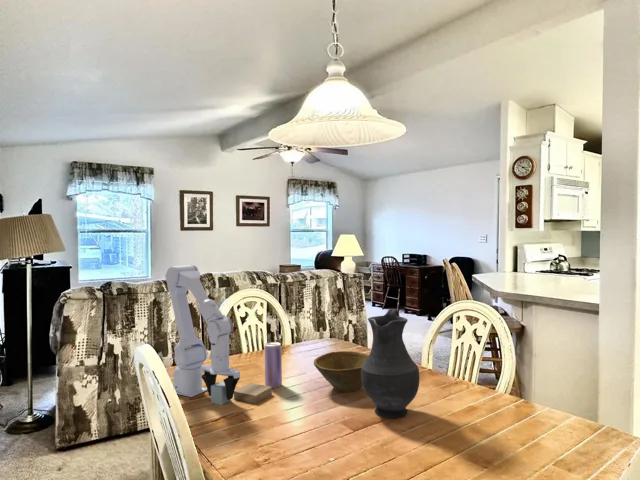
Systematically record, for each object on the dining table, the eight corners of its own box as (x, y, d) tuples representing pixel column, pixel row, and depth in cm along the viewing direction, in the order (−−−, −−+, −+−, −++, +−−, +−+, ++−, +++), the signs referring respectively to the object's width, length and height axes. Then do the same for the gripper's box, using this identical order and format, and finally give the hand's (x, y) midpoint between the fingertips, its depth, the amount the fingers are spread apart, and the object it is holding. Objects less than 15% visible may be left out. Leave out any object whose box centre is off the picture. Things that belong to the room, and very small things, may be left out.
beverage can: (279, 389, 153) (278, 346, 153) (262, 388, 154) (262, 345, 154) (283, 383, 159) (283, 342, 159) (268, 382, 160) (267, 341, 160)
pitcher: (355, 419, 127) (353, 316, 126) (371, 394, 146) (370, 305, 146) (415, 427, 121) (414, 319, 120) (424, 401, 140) (423, 307, 140)
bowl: (304, 382, 159) (304, 355, 159) (359, 374, 168) (359, 348, 168) (329, 403, 139) (328, 372, 139) (390, 392, 148) (390, 363, 148)
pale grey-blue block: (211, 402, 141) (210, 385, 141) (220, 398, 145) (220, 381, 145) (221, 405, 139) (221, 387, 139) (230, 400, 143) (230, 383, 143)
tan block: (233, 400, 144) (233, 391, 144) (250, 391, 152) (250, 383, 152) (255, 405, 140) (255, 395, 140) (271, 395, 148) (271, 386, 148)
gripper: (194, 355, 142) (195, 397, 142) (229, 361, 135) (230, 405, 135) (209, 350, 148) (210, 390, 148) (243, 355, 141) (244, 397, 142)
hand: (220, 396), depth 142 cm, fingers open, 7 cm apart
